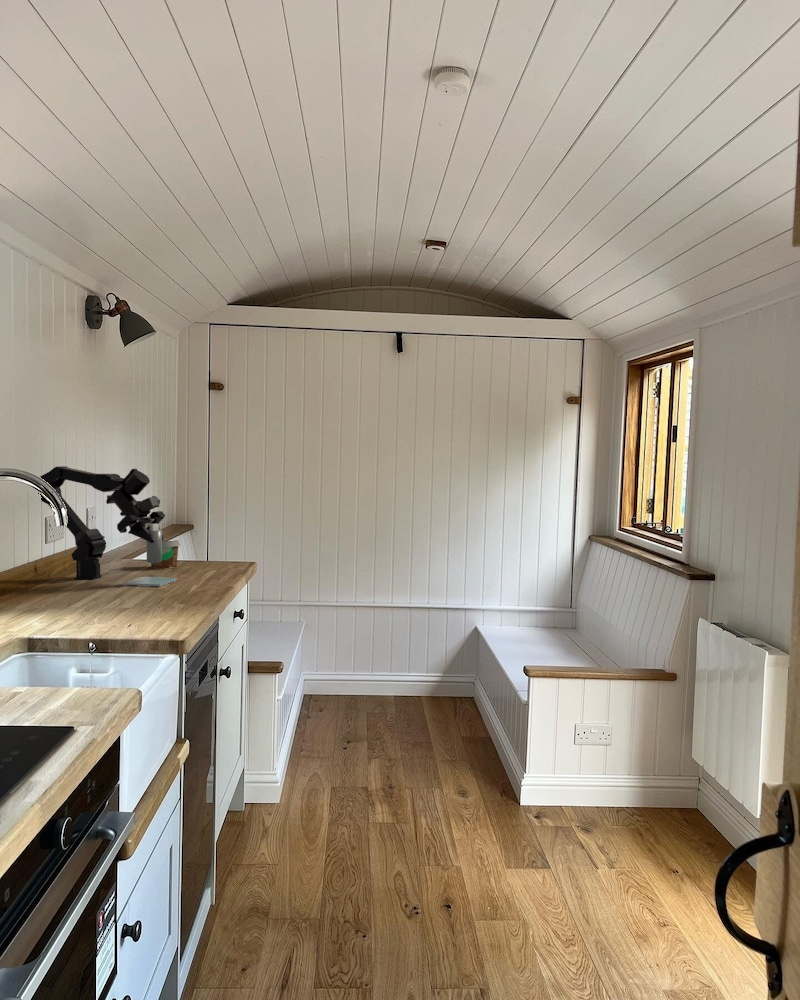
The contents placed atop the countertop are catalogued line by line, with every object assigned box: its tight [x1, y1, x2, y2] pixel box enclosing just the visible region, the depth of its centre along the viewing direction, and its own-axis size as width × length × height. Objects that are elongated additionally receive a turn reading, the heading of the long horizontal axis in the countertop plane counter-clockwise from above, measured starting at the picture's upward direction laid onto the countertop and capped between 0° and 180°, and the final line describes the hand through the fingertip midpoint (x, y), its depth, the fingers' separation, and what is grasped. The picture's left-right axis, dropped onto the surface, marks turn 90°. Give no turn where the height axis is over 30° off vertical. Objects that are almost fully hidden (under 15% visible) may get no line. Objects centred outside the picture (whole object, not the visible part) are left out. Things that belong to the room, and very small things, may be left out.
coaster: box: [123, 576, 178, 587], centre depth 246 cm, size 12×12×1 cm
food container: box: [150, 539, 181, 568], centre depth 276 cm, size 12×6×10 cm, turn 73°
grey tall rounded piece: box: [146, 523, 163, 564], centre depth 246 cm, size 5×5×12 cm
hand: (157, 541), depth 246 cm, fingers closed on grey tall rounded piece, 5 cm apart
